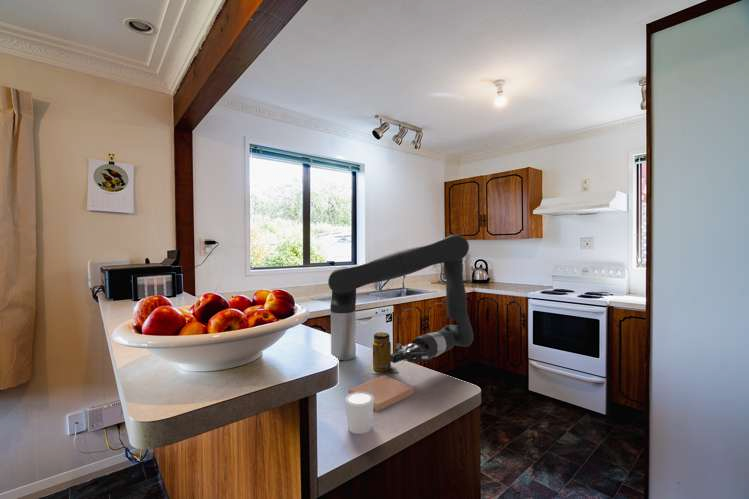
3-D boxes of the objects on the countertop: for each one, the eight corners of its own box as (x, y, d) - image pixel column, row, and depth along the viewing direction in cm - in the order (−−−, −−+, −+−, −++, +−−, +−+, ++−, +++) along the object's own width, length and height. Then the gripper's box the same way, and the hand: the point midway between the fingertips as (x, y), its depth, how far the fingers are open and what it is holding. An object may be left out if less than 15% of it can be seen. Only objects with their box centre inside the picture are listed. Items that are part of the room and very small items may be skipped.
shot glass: (339, 430, 79) (339, 401, 79) (354, 416, 85) (354, 389, 85) (365, 438, 76) (365, 408, 75) (379, 423, 82) (379, 394, 81)
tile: (384, 374, 106) (348, 388, 96) (413, 387, 97) (377, 404, 87) (384, 382, 106) (348, 396, 96) (413, 395, 97) (377, 412, 87)
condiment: (371, 365, 118) (370, 331, 117) (395, 364, 119) (395, 330, 118) (373, 374, 110) (372, 338, 110) (398, 373, 111) (398, 337, 111)
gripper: (413, 330, 116) (376, 341, 104) (446, 338, 106) (408, 352, 94) (413, 351, 116) (376, 365, 104) (446, 362, 106) (408, 378, 94)
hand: (391, 359), depth 99 cm, fingers closed
